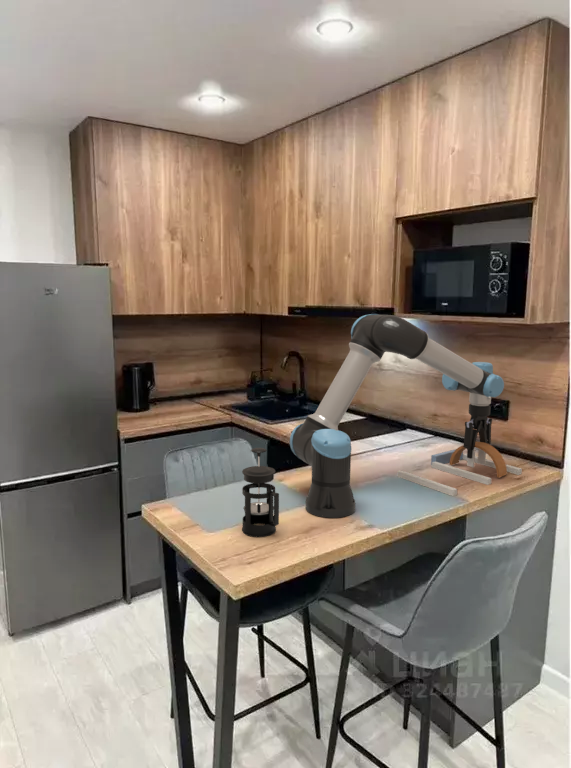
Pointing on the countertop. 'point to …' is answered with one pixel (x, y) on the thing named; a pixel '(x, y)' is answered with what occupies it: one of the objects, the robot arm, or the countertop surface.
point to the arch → (489, 450)
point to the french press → (259, 510)
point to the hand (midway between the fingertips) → (476, 464)
